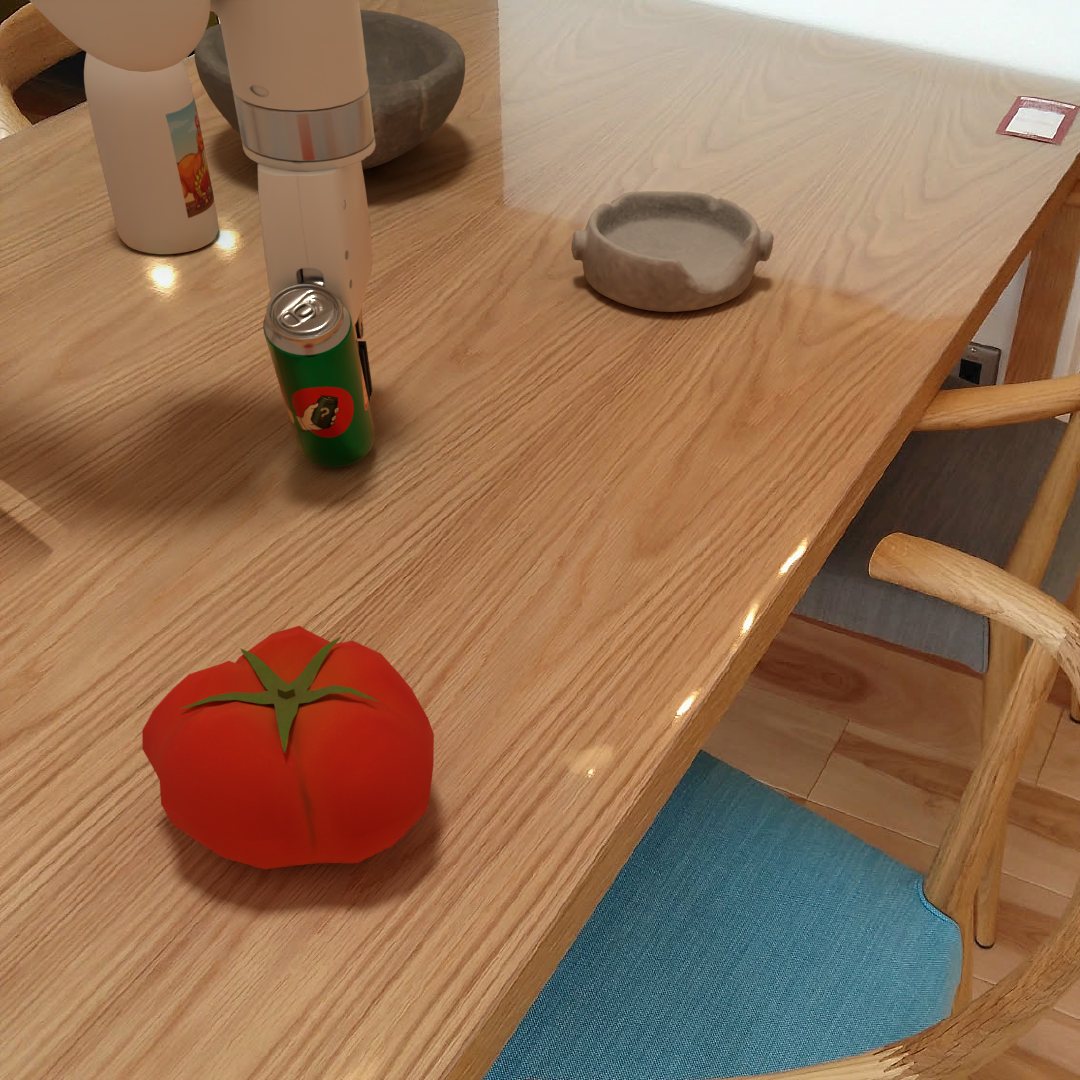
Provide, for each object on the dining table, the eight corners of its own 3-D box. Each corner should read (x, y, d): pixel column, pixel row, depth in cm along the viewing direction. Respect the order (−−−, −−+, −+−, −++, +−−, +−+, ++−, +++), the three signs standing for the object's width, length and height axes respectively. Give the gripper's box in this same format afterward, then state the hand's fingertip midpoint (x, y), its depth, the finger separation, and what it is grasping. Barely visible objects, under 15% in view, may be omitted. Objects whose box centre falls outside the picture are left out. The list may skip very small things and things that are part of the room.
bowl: (520, 148, 129) (517, 34, 122) (369, 232, 114) (355, 108, 107) (323, 90, 136) (309, -21, 129) (156, 163, 121) (130, 42, 114)
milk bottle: (167, 266, 107) (106, -13, 94) (98, 237, 110) (28, -39, 96) (241, 233, 112) (193, -37, 99) (173, 206, 115) (117, -60, 101)
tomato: (483, 741, 73) (474, 611, 67) (408, 927, 64) (390, 797, 58) (230, 700, 74) (198, 569, 67) (121, 879, 64) (73, 746, 58)
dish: (784, 277, 114) (791, 218, 111) (690, 339, 105) (694, 277, 102) (643, 225, 119) (645, 168, 116) (542, 280, 111) (540, 220, 107)
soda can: (392, 443, 91) (367, 313, 80) (331, 485, 89) (297, 358, 78) (342, 398, 92) (311, 264, 81) (281, 439, 90) (240, 307, 79)
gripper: (264, 71, 85) (308, 343, 97) (211, 170, 74) (269, 461, 87) (388, 77, 85) (416, 346, 98) (353, 176, 75) (390, 464, 87)
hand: (347, 399), depth 92 cm, fingers closed
